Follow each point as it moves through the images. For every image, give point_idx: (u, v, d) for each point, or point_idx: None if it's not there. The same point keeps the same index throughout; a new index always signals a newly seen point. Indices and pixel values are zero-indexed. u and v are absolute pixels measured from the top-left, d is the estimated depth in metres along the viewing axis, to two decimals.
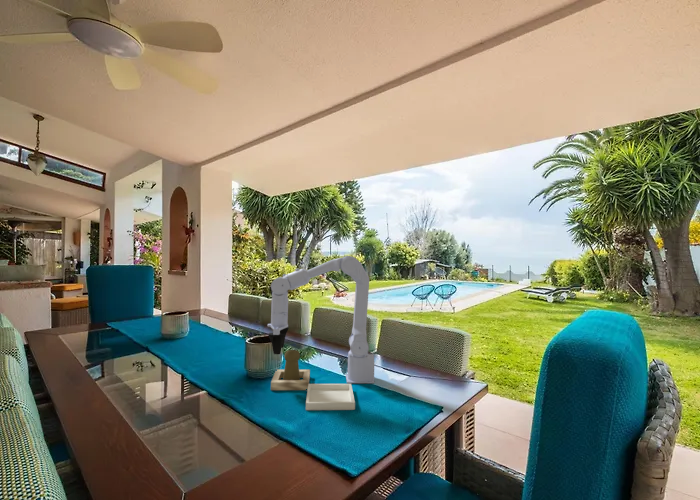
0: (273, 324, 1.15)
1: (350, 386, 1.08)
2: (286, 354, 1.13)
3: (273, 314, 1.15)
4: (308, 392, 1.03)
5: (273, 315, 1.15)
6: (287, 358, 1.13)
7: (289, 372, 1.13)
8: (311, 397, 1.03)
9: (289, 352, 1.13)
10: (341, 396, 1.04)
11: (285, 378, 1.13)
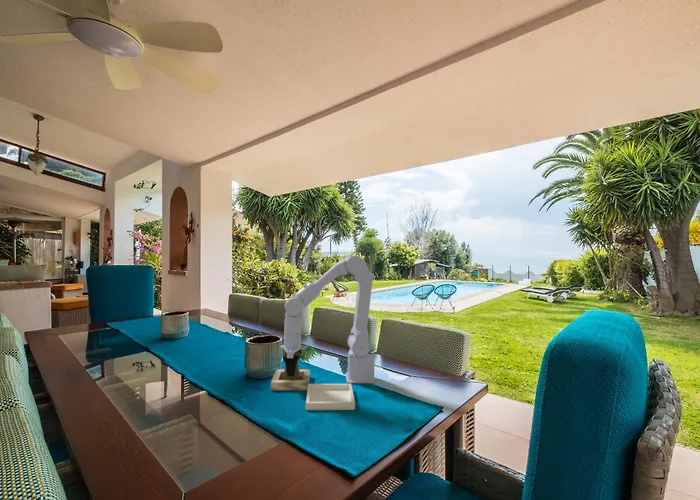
0: (286, 346, 1.13)
1: (350, 386, 1.08)
2: None
3: (286, 336, 1.13)
4: (308, 392, 1.03)
5: (286, 337, 1.13)
6: None
7: None
8: (311, 397, 1.03)
9: None
10: (341, 396, 1.04)
11: (285, 378, 1.13)
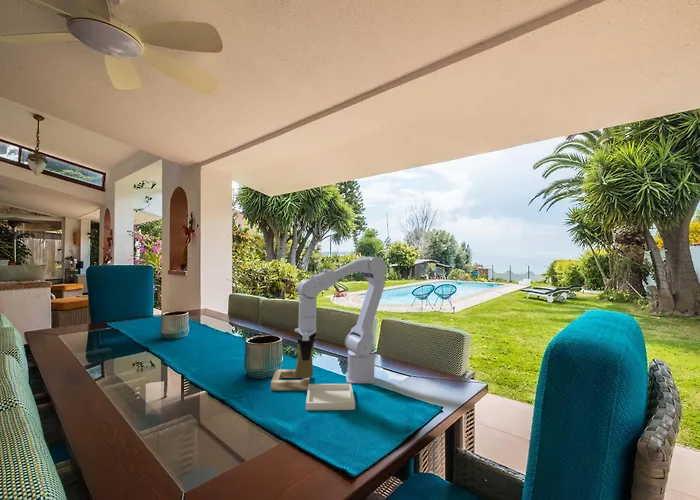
0: (301, 329, 1.08)
1: (350, 386, 1.08)
2: None
3: (301, 318, 1.08)
4: (308, 392, 1.03)
5: (301, 319, 1.08)
6: None
7: (302, 363, 1.08)
8: (311, 397, 1.03)
9: None
10: (341, 396, 1.04)
11: (298, 369, 1.08)
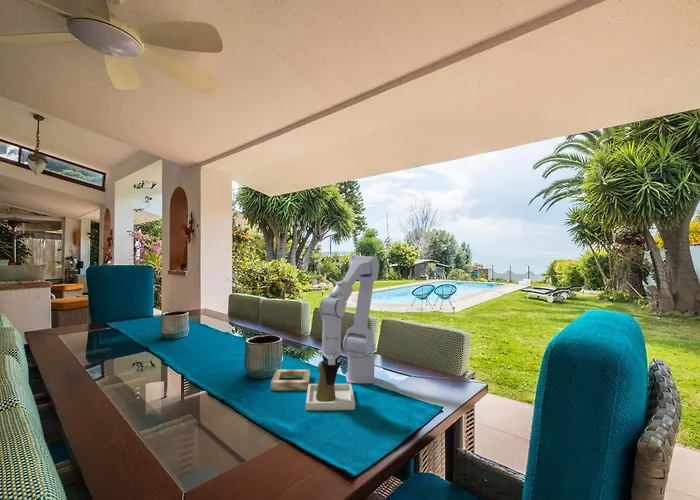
0: (325, 351, 1.01)
1: (350, 386, 1.08)
2: (320, 365, 1.01)
3: (325, 340, 1.01)
4: (308, 392, 1.03)
5: (325, 341, 1.01)
6: (321, 369, 1.01)
7: (322, 385, 1.00)
8: (311, 397, 1.03)
9: None
10: (341, 396, 1.04)
11: (318, 392, 1.01)
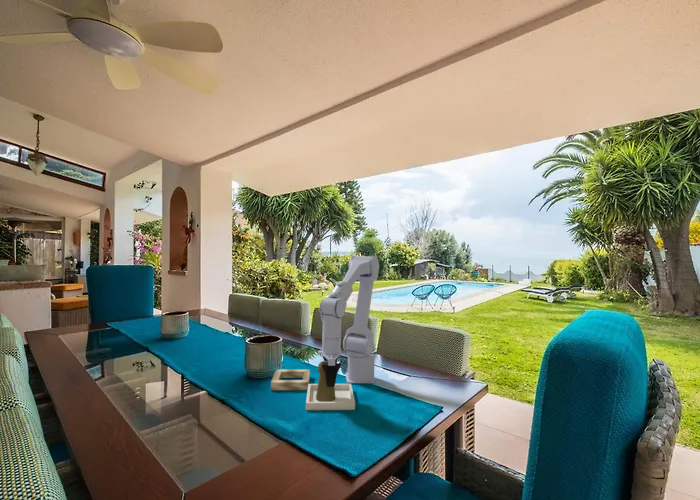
0: (325, 352, 1.01)
1: (350, 386, 1.08)
2: (320, 365, 1.01)
3: (325, 340, 1.01)
4: (308, 392, 1.03)
5: (325, 341, 1.01)
6: (321, 370, 1.01)
7: (322, 386, 1.00)
8: (311, 397, 1.03)
9: None
10: (341, 396, 1.04)
11: (318, 392, 1.01)
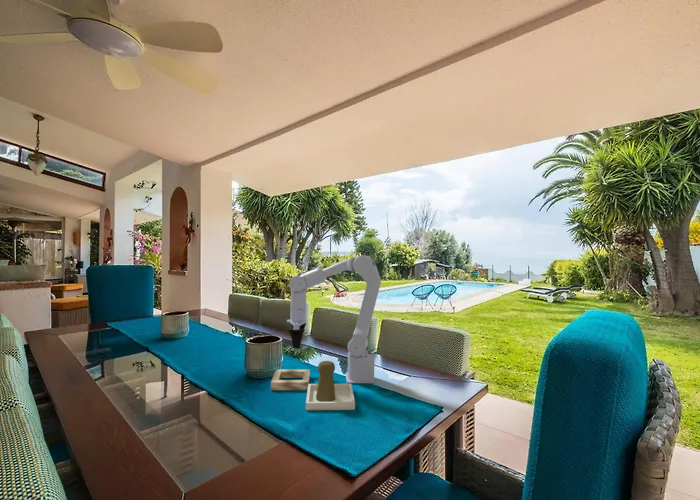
0: (292, 320, 1.22)
1: (350, 386, 1.08)
2: (320, 365, 1.01)
3: (292, 310, 1.22)
4: (308, 392, 1.03)
5: (292, 311, 1.22)
6: (321, 370, 1.01)
7: (322, 386, 1.00)
8: (311, 397, 1.03)
9: (323, 364, 1.01)
10: (341, 396, 1.04)
11: (318, 392, 1.01)
